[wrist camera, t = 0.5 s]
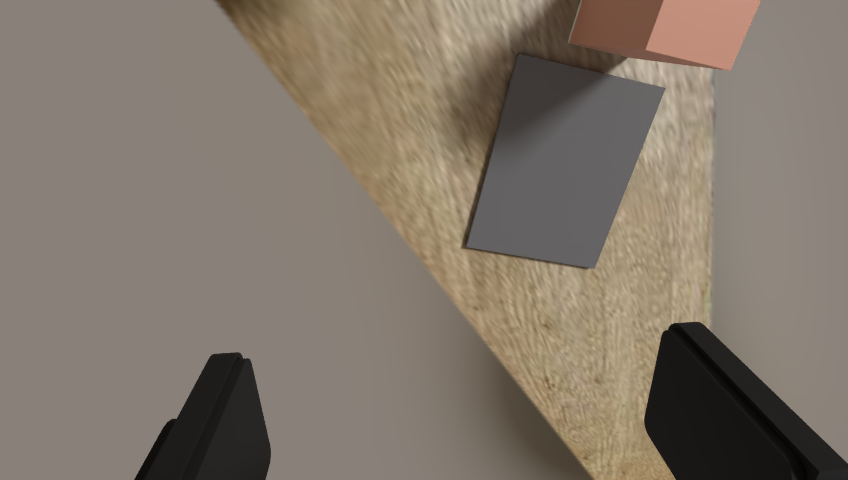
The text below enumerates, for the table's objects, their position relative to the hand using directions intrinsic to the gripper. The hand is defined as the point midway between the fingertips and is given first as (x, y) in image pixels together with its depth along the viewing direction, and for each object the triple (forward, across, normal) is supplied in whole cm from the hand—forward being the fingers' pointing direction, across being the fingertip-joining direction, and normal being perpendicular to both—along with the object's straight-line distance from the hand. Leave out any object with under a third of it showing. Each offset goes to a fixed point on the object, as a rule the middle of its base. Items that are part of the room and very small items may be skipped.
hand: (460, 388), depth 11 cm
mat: (+30, -12, +4) cm, 32 cm away
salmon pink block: (+30, -15, -8) cm, 34 cm away
